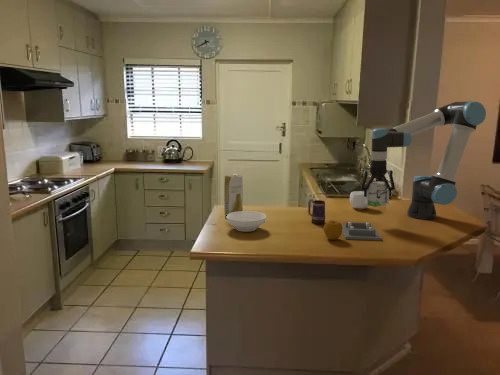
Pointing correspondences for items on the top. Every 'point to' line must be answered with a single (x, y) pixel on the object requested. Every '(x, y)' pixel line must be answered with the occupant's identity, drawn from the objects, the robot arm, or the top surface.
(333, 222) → the apple
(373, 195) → the ink box
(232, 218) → the bowl
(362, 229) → the tray
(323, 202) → the mug
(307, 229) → the top surface
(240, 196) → the juice carton
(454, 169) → the robot arm
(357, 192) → the cup
